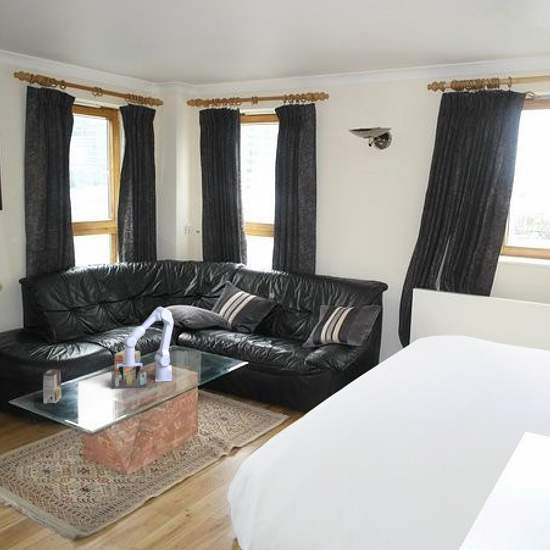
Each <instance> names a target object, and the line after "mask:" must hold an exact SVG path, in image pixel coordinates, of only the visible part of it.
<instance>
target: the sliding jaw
mask: <svg viewBox="0 0 550 550" xmlns="http://www.w3.org/2000/svg"><path fill="white" fill-rule="evenodd" d="M139 379H140V385H144V384H146V379H147V371H143V373H139Z"/></svg>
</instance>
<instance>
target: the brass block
mask: <svg viewBox="0 0 550 550" xmlns="http://www.w3.org/2000/svg"><path fill="white" fill-rule="evenodd" d="M126 380H127V385H132V380H133V373H126Z"/></svg>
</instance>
